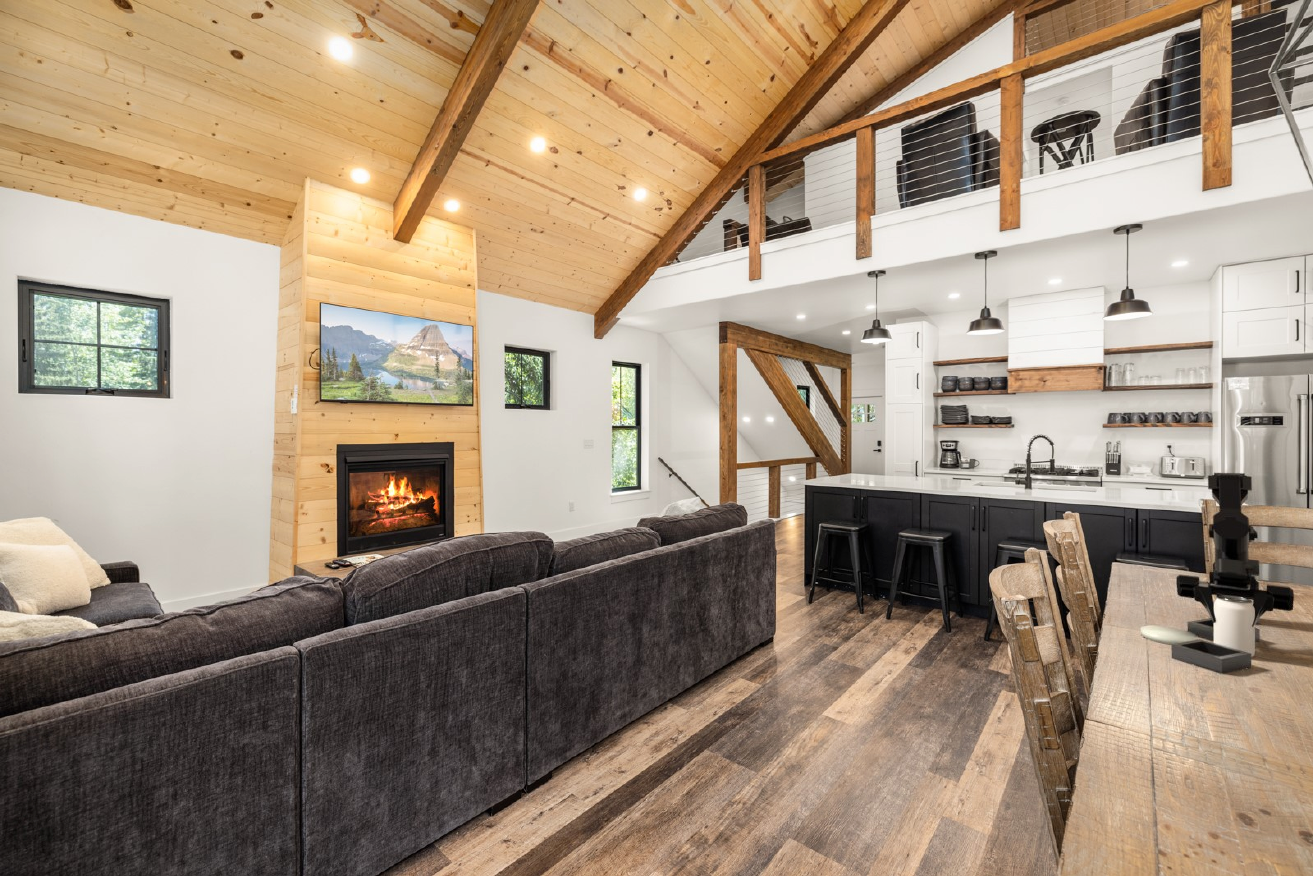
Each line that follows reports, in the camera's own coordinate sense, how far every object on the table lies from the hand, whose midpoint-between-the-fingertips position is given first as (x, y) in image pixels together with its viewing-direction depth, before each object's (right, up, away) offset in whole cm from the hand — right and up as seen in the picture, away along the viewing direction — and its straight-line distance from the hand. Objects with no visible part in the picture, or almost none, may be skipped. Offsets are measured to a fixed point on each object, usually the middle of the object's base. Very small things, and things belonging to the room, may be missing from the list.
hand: (1232, 624), depth 128 cm
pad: (-5, -7, +11) cm, 13 cm away
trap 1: (-9, -7, -4) cm, 12 cm away
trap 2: (+8, -6, +10) cm, 14 cm away
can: (+1, -7, +1) cm, 7 cm away
